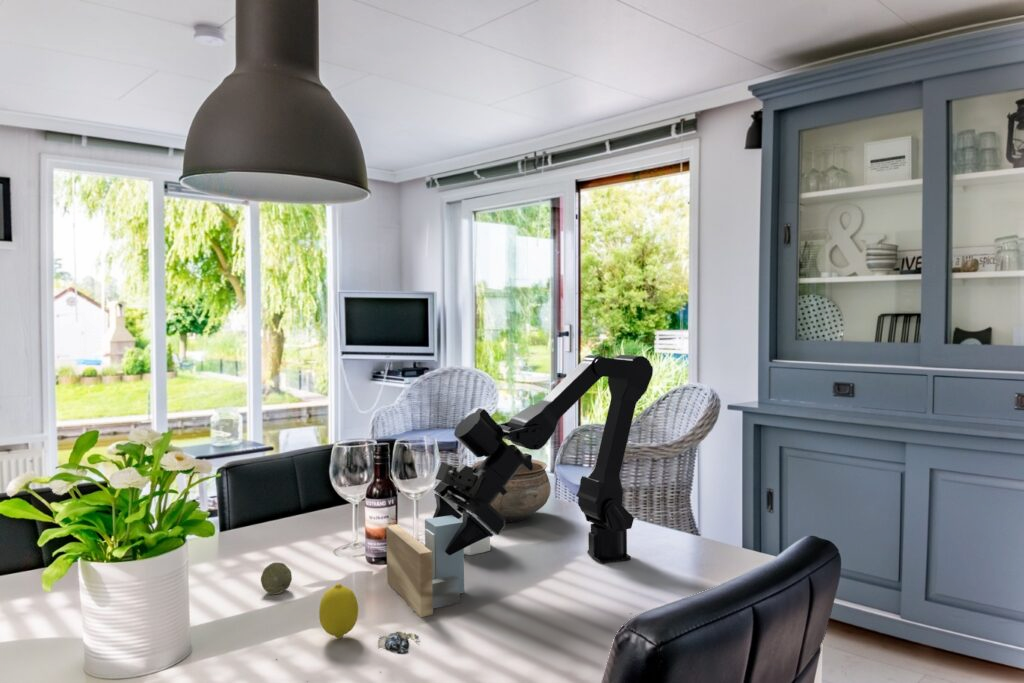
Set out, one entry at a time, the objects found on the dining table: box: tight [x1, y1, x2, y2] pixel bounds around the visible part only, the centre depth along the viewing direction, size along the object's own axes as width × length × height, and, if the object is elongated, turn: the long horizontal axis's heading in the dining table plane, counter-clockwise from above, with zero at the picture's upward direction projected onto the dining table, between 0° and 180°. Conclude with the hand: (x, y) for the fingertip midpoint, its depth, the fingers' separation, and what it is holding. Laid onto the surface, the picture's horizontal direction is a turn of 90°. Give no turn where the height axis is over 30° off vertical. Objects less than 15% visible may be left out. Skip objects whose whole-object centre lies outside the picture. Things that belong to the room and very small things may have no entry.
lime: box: [260, 561, 293, 595], centre depth 123 cm, size 4×5×5 cm
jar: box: [456, 510, 491, 556], centre depth 144 cm, size 9×8×12 cm
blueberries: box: [377, 631, 420, 655], centre depth 102 cm, size 7×8×2 cm
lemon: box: [318, 583, 359, 639], centre depth 104 cm, size 6×6×8 cm
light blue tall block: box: [424, 515, 465, 594], centre depth 122 cm, size 5×5×12 cm
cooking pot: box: [471, 458, 552, 523], centre depth 165 cm, size 25×19×12 cm
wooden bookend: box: [385, 523, 460, 618], centre depth 120 cm, size 8×17×10 cm, turn 27°
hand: (436, 545), depth 121 cm, fingers open, 9 cm apart
